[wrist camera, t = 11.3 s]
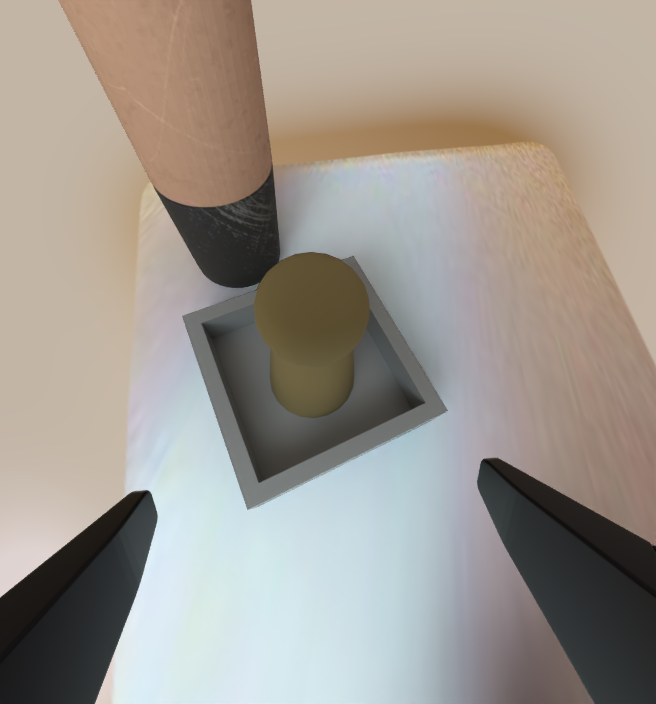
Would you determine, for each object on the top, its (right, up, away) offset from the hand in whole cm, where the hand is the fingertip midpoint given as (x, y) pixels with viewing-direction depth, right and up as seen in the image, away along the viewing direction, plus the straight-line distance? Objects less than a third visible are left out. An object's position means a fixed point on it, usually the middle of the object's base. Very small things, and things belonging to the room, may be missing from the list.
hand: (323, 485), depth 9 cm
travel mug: (-8, +12, +20) cm, 24 cm away
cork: (-1, +2, +15) cm, 15 cm away
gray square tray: (-1, +2, +15) cm, 15 cm away
